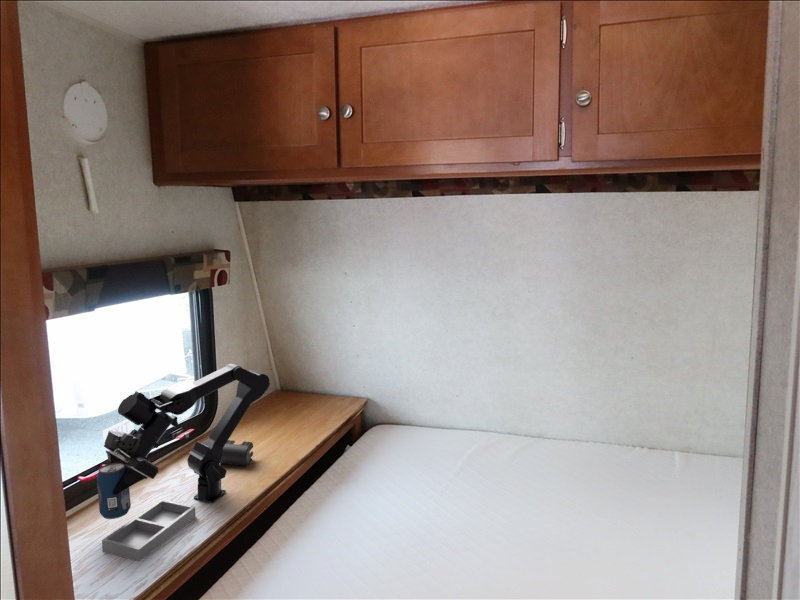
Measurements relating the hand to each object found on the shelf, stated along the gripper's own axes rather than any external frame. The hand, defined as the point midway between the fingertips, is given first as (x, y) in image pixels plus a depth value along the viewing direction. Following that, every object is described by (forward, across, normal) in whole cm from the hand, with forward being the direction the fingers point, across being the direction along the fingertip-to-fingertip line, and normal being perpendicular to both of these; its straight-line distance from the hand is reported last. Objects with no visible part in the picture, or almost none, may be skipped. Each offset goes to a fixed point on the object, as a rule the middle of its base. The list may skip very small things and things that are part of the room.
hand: (107, 488), depth 142 cm
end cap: (-22, -13, +40) cm, 47 cm away
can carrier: (+4, +7, +14) cm, 16 cm away
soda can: (+4, +1, +6) cm, 7 cm away
